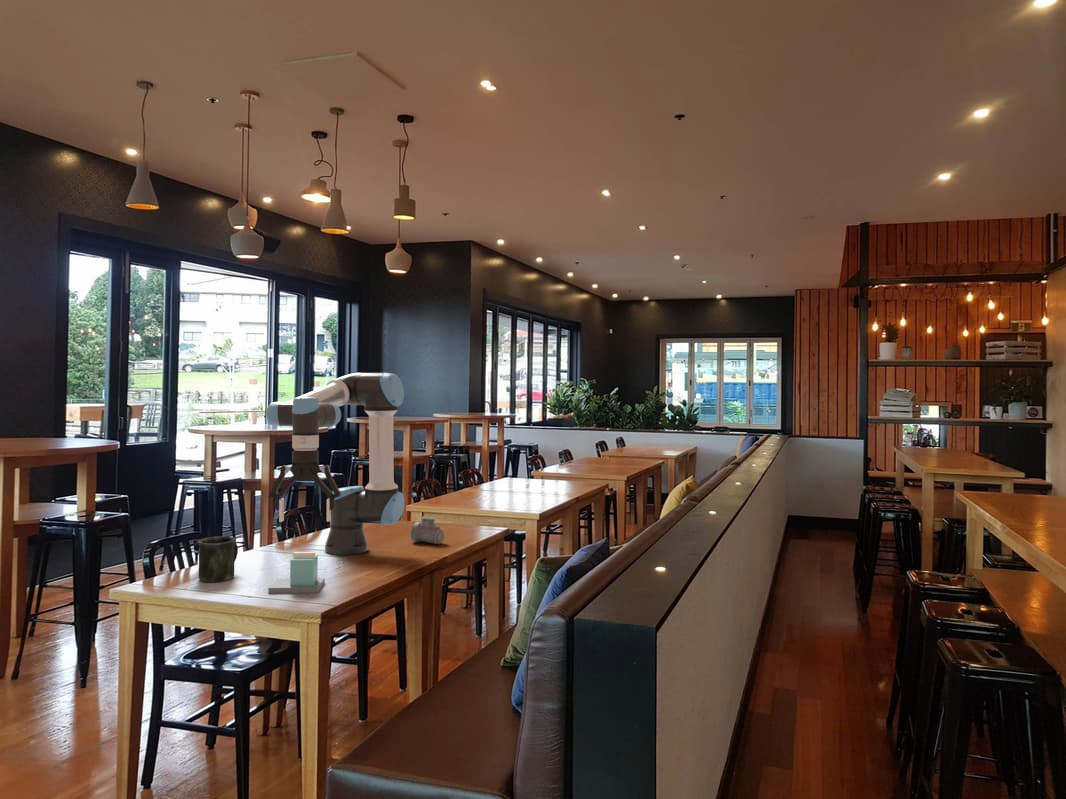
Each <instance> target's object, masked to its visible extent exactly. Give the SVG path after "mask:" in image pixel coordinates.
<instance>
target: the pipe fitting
mask: <svg viewBox="0 0 1066 799" xmlns="http://www.w3.org/2000/svg"><path fill="white" fill-rule="evenodd" d="M435 519H436V518H435V517H431V516H422V517H421V521H416V522H415V523H413V525H412V527H411V530H410V539H411V541H412V542H415V543H418V542H419V543H421V542H426V543H429V544H432V545H436V544H440V545H441V544H443V541H445V540H444V539H445V531H444V530H443V529H441V526H440V525H439V524H436V523H435Z"/></svg>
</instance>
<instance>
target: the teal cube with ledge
mask: <svg viewBox="0 0 1066 799" xmlns="http://www.w3.org/2000/svg"><path fill="white" fill-rule="evenodd" d="M292 554H293V557H292V558H291V559H290V560H289V561H290V565H289V566H290V572H289V573H290V576H289V578H290V586H313V585H314V584H315V583H316V581H317V578H318V559H319V558H318V557H319V554H316V551H293V553H292Z"/></svg>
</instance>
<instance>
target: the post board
mask: <svg viewBox="0 0 1066 799" xmlns="http://www.w3.org/2000/svg"><path fill="white" fill-rule="evenodd" d="M325 582H326V578H325V577H317V581H316V583H315V584H314V585H313V586H290V577H289V578H287V577H286V578H282V577H281V578H276V579H275V580H274V581H273V583H271V585H270V586H269V587H268V588H267V590H268V591H267V593H268V594H303V593H304V594H314V593H315V594H316V593H317V594H318V593H319V592H320V590H321V589H322V587H324V585H325Z"/></svg>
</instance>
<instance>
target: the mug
mask: <svg viewBox="0 0 1066 799" xmlns="http://www.w3.org/2000/svg"><path fill="white" fill-rule="evenodd" d="M236 541H237V538H235V537H233V536H211V537H205V538H201V539H199V540H198V541H197V544H198V580H199V581H200V582H203V581H204V583H218V582H219V583H220V582H225V581H229V580H232V579H233V578H234V577H235V561H236V560H237V557H238V552H239V548H238V544H237V543H236Z"/></svg>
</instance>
